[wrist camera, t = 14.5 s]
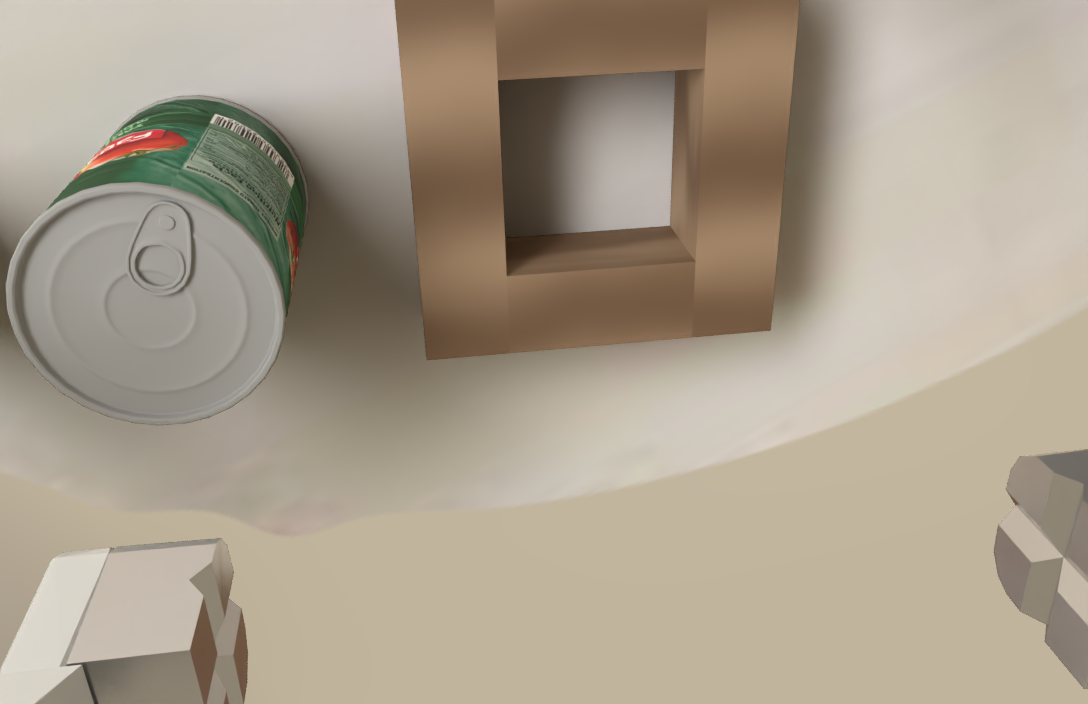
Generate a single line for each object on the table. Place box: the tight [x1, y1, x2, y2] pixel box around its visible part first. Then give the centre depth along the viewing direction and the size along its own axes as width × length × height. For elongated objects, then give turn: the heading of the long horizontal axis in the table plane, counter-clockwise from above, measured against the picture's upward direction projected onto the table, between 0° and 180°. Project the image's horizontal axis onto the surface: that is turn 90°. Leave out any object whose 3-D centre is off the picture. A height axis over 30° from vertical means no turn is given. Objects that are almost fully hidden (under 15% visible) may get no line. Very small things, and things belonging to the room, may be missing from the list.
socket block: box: [395, 0, 800, 360], centre depth 39 cm, size 14×14×4 cm
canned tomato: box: [6, 96, 309, 425], centre depth 35 cm, size 8×8×11 cm
